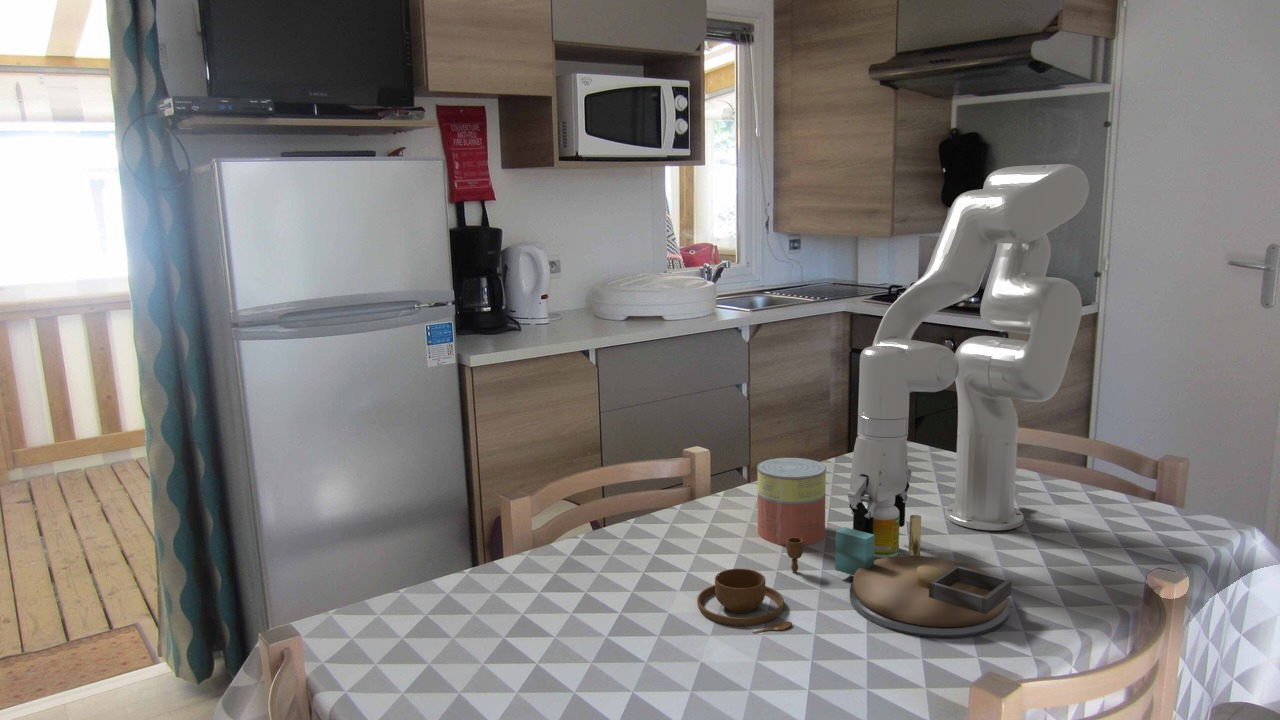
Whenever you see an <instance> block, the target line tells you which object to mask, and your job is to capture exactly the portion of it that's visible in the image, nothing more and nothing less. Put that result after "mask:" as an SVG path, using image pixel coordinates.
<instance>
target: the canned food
mask: <svg viewBox="0 0 1280 720" xmlns="http://www.w3.org/2000/svg"><path fill="white" fill-rule="evenodd" d="M756 469H757V534H758V537H760V538H761V539H763V540H765V542H766V541H767V542H768V543H771V544H776V545H781V546H787V539H788V538H791V537H797V538H801V539H802V540H803V546H809V545H814V544H816V543H819V542H821V541H823V539H824V538H825V537H826V482H827V481H826V473H827V465H825V464H824V463H822V462H820V461H818V460H814V459H810V458H803V457H793V456H791V457H776V458H775V457H773V458H770V459H765V460H762V461H760V462H759V463H758V464H757V466H756Z"/></svg>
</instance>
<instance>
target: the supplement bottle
mask: <svg viewBox="0 0 1280 720" xmlns="http://www.w3.org/2000/svg"><path fill="white" fill-rule="evenodd" d="M868 497H872V496H869V495H868ZM894 504H895V496H893V497H891V498H889V499H887V500H884V501H882V502H880V503H876V505H875V507H874V510H873V512H872V515H871V517H874V524H873V535H875V546H874V558H879V559H882V558H888V557H896V556H899V555H898V554H899V549H900V546H899V545H900V544H899V543H900V527H899V510H898V508H897V507H895V506H894ZM867 506H868V504H867V505H866V506H865V508H867Z"/></svg>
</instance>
